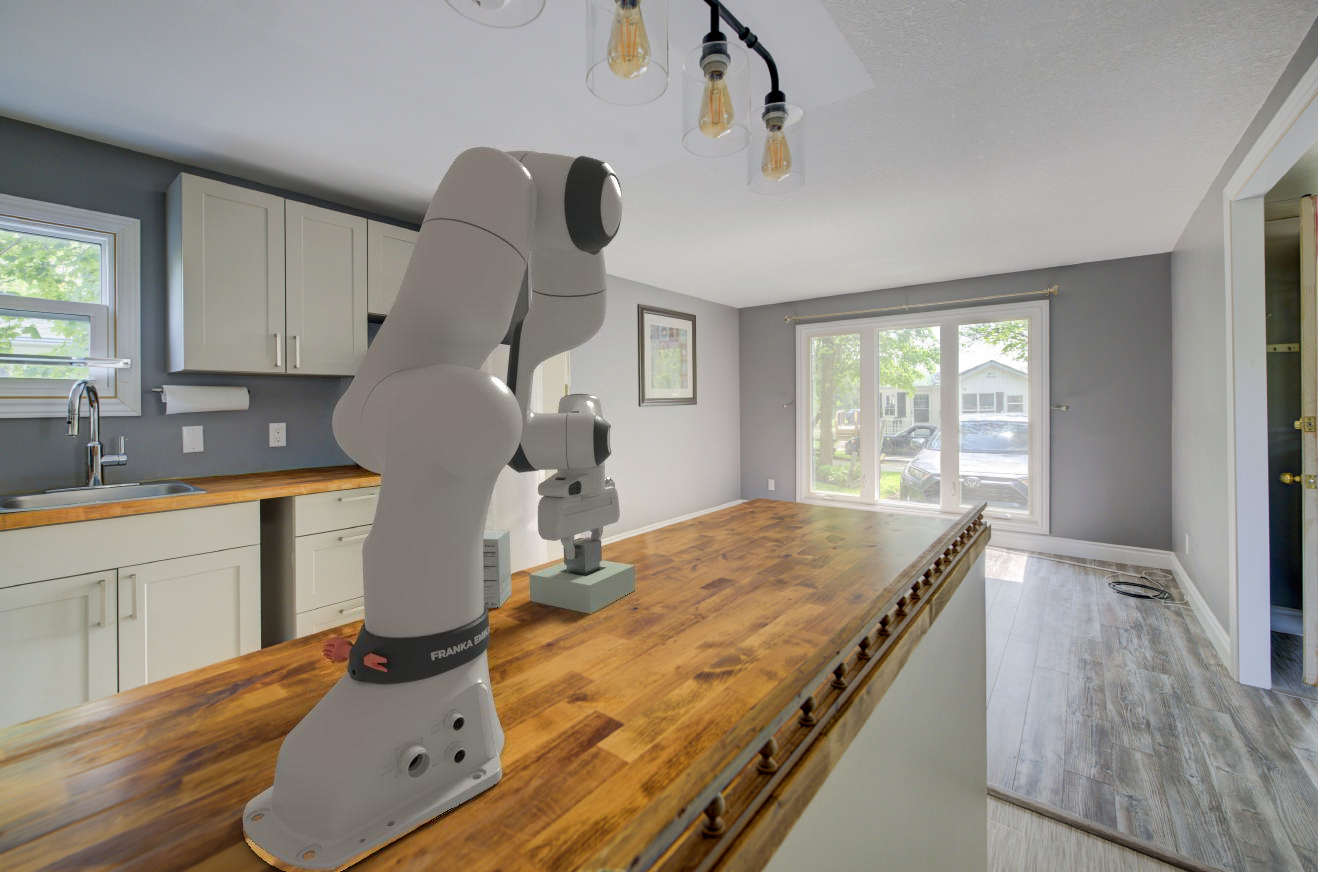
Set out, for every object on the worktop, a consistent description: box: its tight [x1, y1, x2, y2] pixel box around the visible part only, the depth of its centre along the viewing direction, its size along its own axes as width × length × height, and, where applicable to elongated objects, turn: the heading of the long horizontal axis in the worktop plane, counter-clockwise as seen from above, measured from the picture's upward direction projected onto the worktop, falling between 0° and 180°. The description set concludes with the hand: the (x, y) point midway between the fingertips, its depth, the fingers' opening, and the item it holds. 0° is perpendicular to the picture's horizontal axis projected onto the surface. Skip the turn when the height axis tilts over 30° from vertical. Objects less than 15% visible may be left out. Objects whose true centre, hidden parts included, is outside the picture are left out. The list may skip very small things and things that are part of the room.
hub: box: [528, 559, 636, 615], centre depth 104 cm, size 14×14×5 cm
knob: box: [563, 536, 603, 576], centre depth 104 cm, size 5×5×8 cm
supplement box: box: [483, 529, 512, 609], centre depth 102 cm, size 7×7×13 cm
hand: (582, 554), depth 104 cm, fingers closed on knob, 5 cm apart
